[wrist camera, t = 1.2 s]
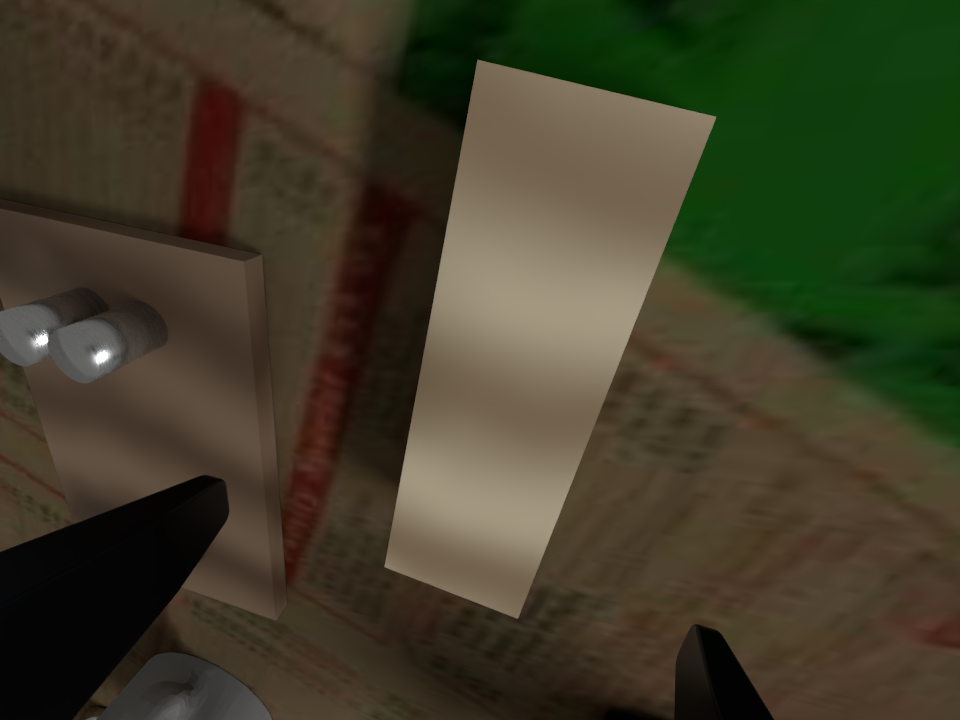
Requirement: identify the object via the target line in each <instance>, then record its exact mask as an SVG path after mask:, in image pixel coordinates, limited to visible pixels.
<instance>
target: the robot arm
mask: <svg viewBox="0 0 960 720" xmlns="http://www.w3.org/2000/svg"><path fill="white" fill-rule="evenodd" d="M229 511H230V509H229V501H228V493H227V486H226V483H225V481H224V480H223V479H220V478H217V477H214V476H211V475H201V476H198V477H195V478H193V479H190V480H188V481H185V482H182V483H180V484H177V485H175V486H172V487H169V488H167V489H164V490H161V491H159V492H156V493H154V494H151V495H148V496H146V497H143V498H140V499H138V500H135V501H133V502H130V503H127V504H125V505H122V506H120V507H117V508H114V509H112V510H109V511H106V512H104V513H101V514H99V515H96V516H93V517H91V518H88V519H86V520H83V521H80V522H78V523H75V524H72V525H70V526H67V527H65V528H62V529H59V530H57V531H54V532H52V533H49V534H46V535H44V536H41V537H38V538H36V539H33V540H31V541H28V542H25V543H23V544H20V545H17V546H15V547H12V548H10V549H7V550H4V551H2V552H0V720H72V719H73V718H74V717H75V716H76V715H77V713H78V712H79V711H80V710H81V709H82V707H83V706H84V705H85V704H86V703H87V701H88V700H89V699H90V698H91V697H92V695H93V694H94V693H95V692H96V690H97V689H98V688H99V687H100V686H101V684H102V683H103V682H104V681H105V680H106V678H107V677H108V676H109V675H110V674H111V672H112V671H113V670H114V669H115V667H116V666H117V665H118V664H119V663H120V661H121V660H122V659H123V658H124V657H125V655H126V654H127V653H128V652H129V651H130V649H131V648H132V647H133V646H134V645H135V643H136V642H137V641H138V640H139V638H140V637H141V636H142V635H143V634H144V632H145V631H146V630H147V629H148V628H149V626H150V625H151V624H152V623H153V622H154V620H155V619H156V618H157V617H158V615H159V614H160V613H161V612H162V611H163V609H164V608H165V607H166V606H167V605H168V603H169V602H170V601H171V600H172V598H173V597H174V596H175V595H176V593H177V592H178V591H179V589H180V588H181V587H182V585H183V584H184V583H185V581H186V580H187V578H188V577H189V575H190V574H191V573H192V571H193V570H194V568H195V567H196V565H197V564H198V562H199V561H200V559H201V558H202V556H203V555H204V554H205V552H206V551H207V549H208V548H209V546H210V545H211V543H212V542H213V540H214V539H215V537H216V536H217V534H218V533H219V532H220V530H221V529H222V527H223V526H224V524H225V523H226V521H227V519H228V516H229ZM603 720H638V719H635V718H632V717H629V716H626V715H623V714H620V713H617V712H608V713H606V715H605V716H604V719H603ZM674 720H774V719H773V717H772V716H771V714H770V712H769V711H768V709H767V707H766V706H765V704H764V702H763V701H762V699H761V698H760V696H759V694H758V693H757V691H756V689H755V688H754V686H753V685H752V683H751V681H750V680H749V678H748V676H747V675H746V673H745V672H744V670H743V668H742V667H741V665H740V663H739V662H738V660H737V658H736V657H735V655H734V654H733V652H732V650H731V649H730V647H729V645H728V644H727V642H726V641H725V639H724V637H723V636H722V634H721V633H720V632H718V631H717V630H715V629H711V628H708V627H705V626H702V625H698V624H695V625H693V626H692V627H691V628H690V630H689V632H688V634H687V636H686V638H685V640H684V642H683V644H682V647H681V649H680V651H679V653H678V656H677V661H676V675H675V715H674Z"/></svg>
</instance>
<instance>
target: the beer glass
mask: <svg viewBox="0 0 960 720" xmlns="http://www.w3.org/2000/svg"><path fill="white" fill-rule="evenodd" d="M105 709H106V708H103V707H90V708H88V709H87V710H86V711H85V712H84V713H83V714H82V716H81V717H80V718H79V720H96V719H97V718H98V717H99V716H100V715H101V714H102V713H103V712H104V710H105Z"/></svg>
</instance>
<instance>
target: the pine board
mask: <svg viewBox="0 0 960 720" xmlns="http://www.w3.org/2000/svg"><path fill="white" fill-rule="evenodd" d="M715 119H716V117H714V116H710V115H706V114H702V113H697V112H693V111H689V110H685V109H681V108H677V107H672V106H668V105H664V104H660V103H656V102H652V101H647V100H643V99H639V98H635V97H631V96H627V95H622V94H618V93H614V92H610V91H606V90H602V89H597V88H593V87H589V86H585V85H581V84H577V83H572V82H568V81H564V80H560V79H556V78H552V77H547V76H543V75H539V74H535V73H531V72H527V71H522V70H518V69H514V68H510V67H506V66H502V65H497V64H493V63H489V62H485V61H481V60H477V66H476V71H475V77H474V82H473V87H472V93H471V98H470V104H469V109H468V115H467V120H466V126H465V131H464V136H463V142H462V147H461V153H460V158H459V164H458V169H457V175H456V180H455V186H454V191H453V196H452V202H451V207H450V213H449V218H448V224H447V229H446V235H445V240H444V245H443V251H442V256H441V262H440V267H439V273H438V278H437V284H436V289H435V294H434V300H433V305H432V311H431V316H430V322H429V327H428V333H427V338H426V344H425V349H424V354H423V360H422V365H421V371H420V376H419V382H418V387H417V393H416V398H415V403H414V409H413V414H412V420H411V425H410V431H409V436H408V442H407V447H406V452H405V458H404V463H403V469H402V474H401V480H400V485H399V491H398V496H397V502H396V507H395V512H394V518H393V523H392V529H391V534H390V540H389V545H388V551H387V556H386V561H385V567H386V568H388V569H391V570H393V571H396V572H399V573H401V574H404V575H406V576H409V577H412V578H414V579H417V580H419V581H422V582H424V583H427V584H430V585H432V586H435V587H437V588H440V589H442V590H445V591H448V592H450V593H453V594H455V595H458V596H460V597H463V598H466V599H468V600H471V601H473V602H476V603H479V604H481V605H484V606H486V607H489V608H491V609H494V610H497V611H499V612H502V613H504V614H507V615H509V616H512V617H515V618H517V619H518V617H519V615H520V612H521V610H522V607H523V605H524V602H525V600H526V597H527V595H528V592H529V589H530V587H531V584H532V582H533V579H534V577H535V574H536V572H537V569H538V567H539V564H540V562H541V559H542V557H543V554H544V552H545V549H546V546H547V544H548V541H549V539H550V536H551V534H552V531H553V529H554V526H555V524H556V521H557V519H558V516H559V514H560V511H561V508H562V506H563V503H564V501H565V498H566V496H567V493H568V491H569V488H570V486H571V483H572V481H573V478H574V476H575V473H576V471H577V468H578V465H579V463H580V460H581V458H582V455H583V453H584V450H585V448H586V445H587V443H588V440H589V438H590V435H591V433H592V430H593V428H594V425H595V422H596V420H597V417H598V415H599V412H600V410H601V407H602V405H603V402H604V400H605V397H606V395H607V392H608V390H609V387H610V385H611V382H612V379H613V377H614V374H615V372H616V369H617V367H618V364H619V362H620V359H621V357H622V354H623V352H624V349H625V347H626V344H627V342H628V339H629V336H630V334H631V331H632V329H633V326H634V324H635V321H636V319H637V316H638V314H639V311H640V309H641V306H642V304H643V301H644V299H645V296H646V293H647V291H648V288H649V286H650V283H651V281H652V278H653V276H654V273H655V271H656V268H657V266H658V263H659V261H660V258H661V256H662V253H663V250H664V248H665V245H666V243H667V240H668V238H669V235H670V233H671V230H672V228H673V225H674V223H675V220H676V218H677V215H678V213H679V210H680V207H681V205H682V202H683V200H684V197H685V195H686V192H687V190H688V187H689V185H690V182H691V180H692V177H693V175H694V172H695V170H696V167H697V164H698V162H699V159H700V157H701V154H702V152H703V149H704V147H705V144H706V142H707V139H708V137H709V134H710V132H711V129H712V127H713V124H714V121H715Z"/></svg>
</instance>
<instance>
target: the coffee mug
mask: <svg viewBox="0 0 960 720" xmlns="http://www.w3.org/2000/svg"><path fill="white" fill-rule="evenodd" d="M96 720H272V718H271V716H270V713H269V712H268V710H267V709H266V707H265V706H264V704H263V703H262V702H261V701H260V700H259V698H258V697H257V696H256V695H255V694H254V693H253V692H252V691H251V690H250V689H249V688H248V687H247V686H245V685H244V684H243V683H242V682H240V681H239V680H238V679H236V678H235V677H234V676H232V675H231V674H229V673H228V672H226V671H225V670H223V669H221V668H219V667H217V666H215V665H213V664H211V663H209V662H207V661H205V660H202V659H200V658H197V657H194V656H190V655H187V654H182V653H175V652H168V653H161V654H157V655H155V656H153V657H152V658H151V659H149V661H148V662H147V663H146V664H145V665H144V666H143V667H142V669H141V670H140V671H139V672H138V673H137V674H136V675H135V676H134V678H133V679H132V680H131V681H130V682H129V683H128V684H127V686H126V687H125V688H124V689H123V690H122V691H121V692H120V693H119V695H118V696H117V697H116V698H115V699H114V700H113V701H112V702H111V704H110V705H109V706H108V707H107V708H106V709H105V710H104V712H103V713H102V714H101V715H100V716H99V717H98V718H97V719H96Z"/></svg>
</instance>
